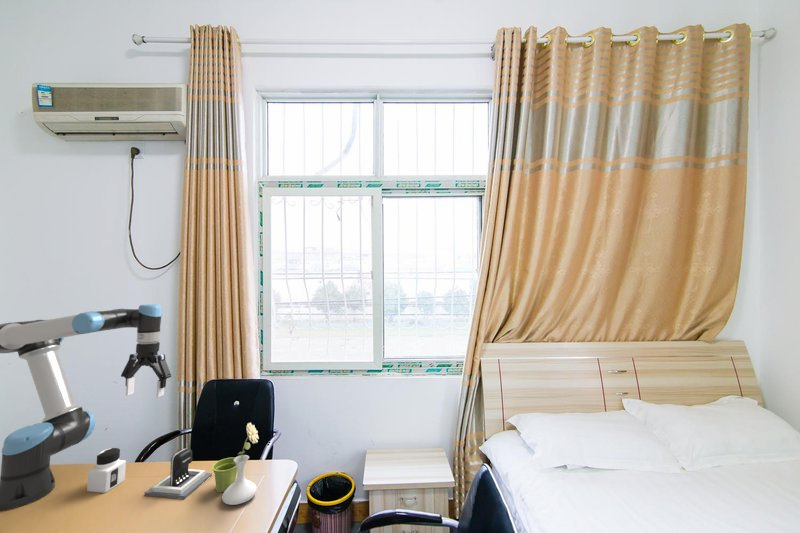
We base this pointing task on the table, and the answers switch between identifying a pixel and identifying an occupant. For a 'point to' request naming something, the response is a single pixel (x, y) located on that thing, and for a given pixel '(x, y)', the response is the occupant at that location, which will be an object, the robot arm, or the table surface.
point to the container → (106, 471)
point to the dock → (183, 489)
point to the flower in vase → (242, 475)
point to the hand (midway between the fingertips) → (144, 395)
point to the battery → (180, 467)
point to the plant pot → (224, 473)
